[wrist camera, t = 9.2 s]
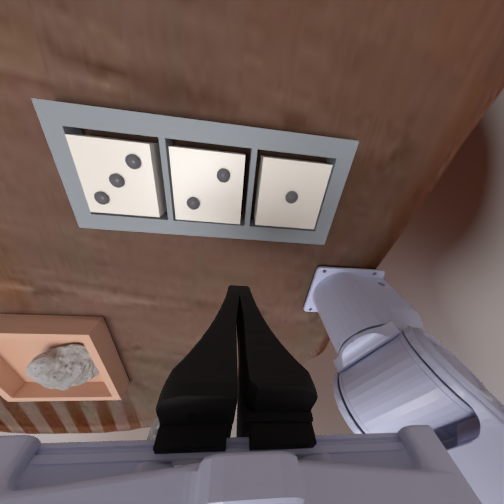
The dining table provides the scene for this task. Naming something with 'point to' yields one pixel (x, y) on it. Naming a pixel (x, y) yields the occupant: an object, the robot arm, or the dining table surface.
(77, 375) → the stone
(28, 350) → the stone dish
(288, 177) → the tile one
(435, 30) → the dining table surface
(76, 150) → the tile three
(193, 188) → the tile two
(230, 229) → the board
